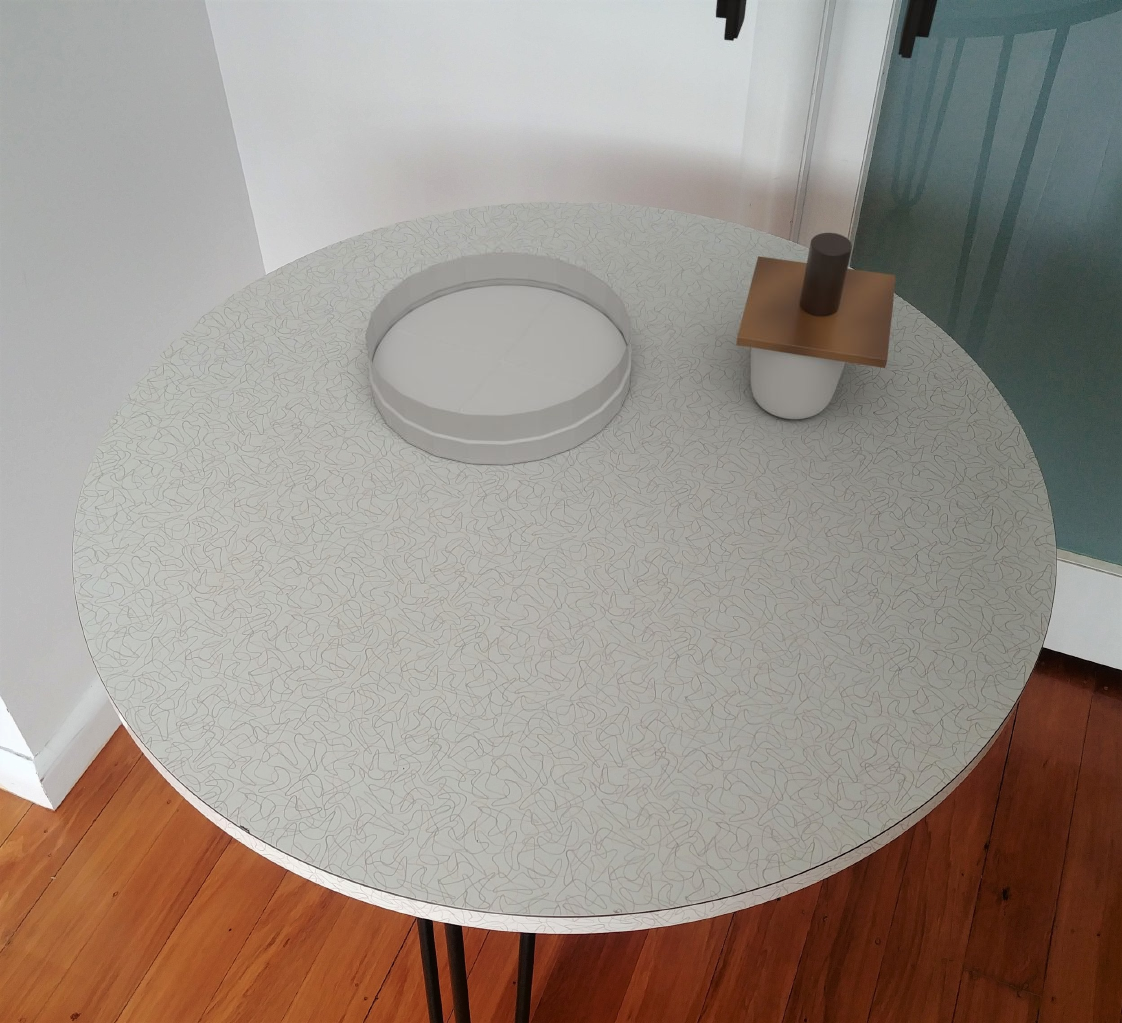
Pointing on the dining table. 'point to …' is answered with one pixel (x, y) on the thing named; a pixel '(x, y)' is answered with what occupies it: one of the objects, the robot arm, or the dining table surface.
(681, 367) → the dining table surface
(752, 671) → the dining table surface
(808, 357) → the cup
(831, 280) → the square peg stand
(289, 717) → the dining table surface
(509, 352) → the dish
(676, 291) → the dining table surface
